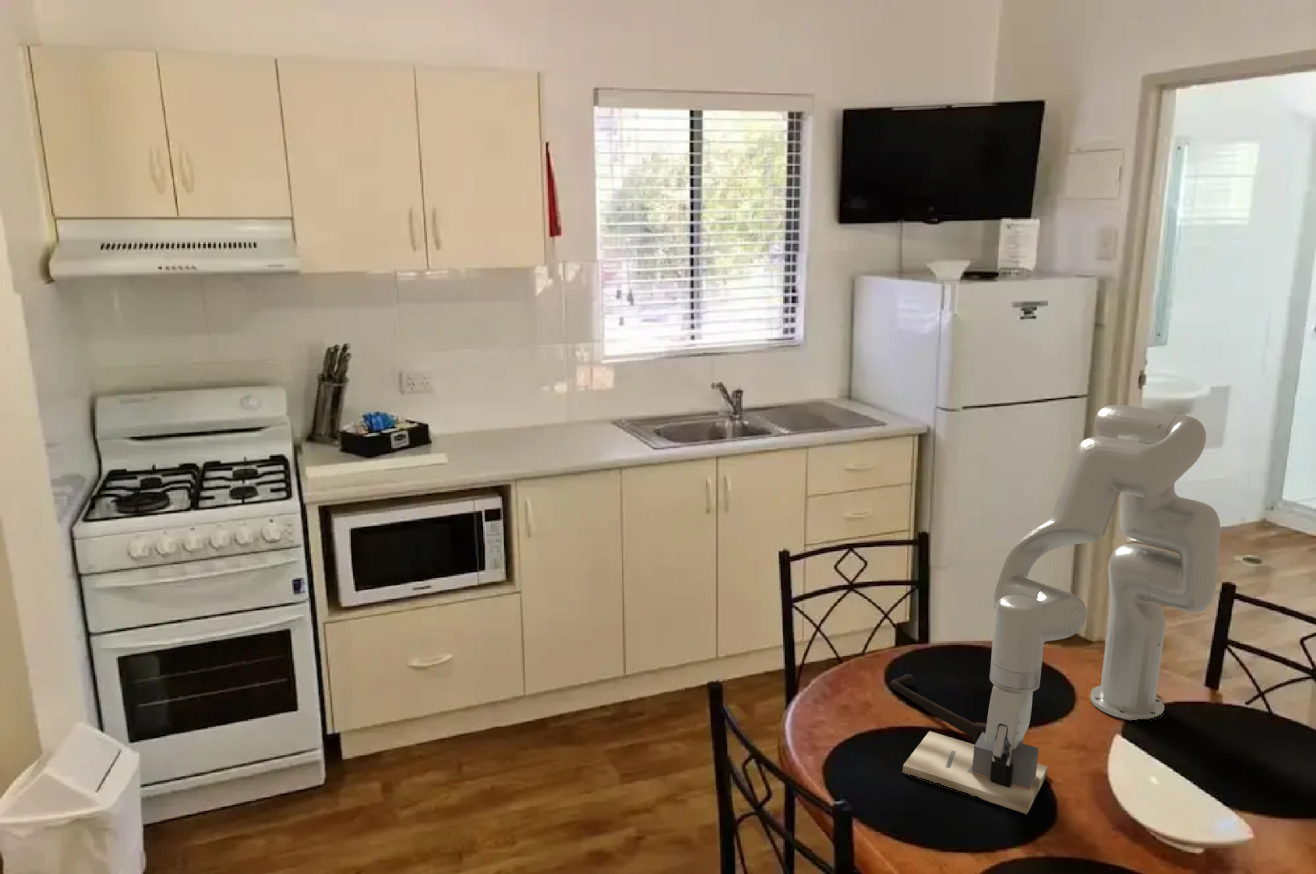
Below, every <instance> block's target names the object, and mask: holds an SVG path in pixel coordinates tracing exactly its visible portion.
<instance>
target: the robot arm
mask: <svg viewBox="0 0 1316 874" xmlns="http://www.w3.org/2000/svg"><path fill="white" fill-rule="evenodd" d="M1205 429H1206V428H1205V426H1204V425H1203V423H1202V422H1201V421H1200V420H1198V419H1197V418H1195V417H1193V416H1189V415H1186V414H1180V413H1173V412H1167V411H1161V410H1155V409H1150V408H1144V407H1138V406H1130V405H1125V404H1112V405H1111V404H1110V405H1106V406H1104V407H1102V408H1101V409H1099V411H1098V412H1097V414H1096V416H1095V418H1094V430H1095V435H1096V436H1092V437H1087V438H1085V439H1083V440H1082V441H1081V442H1080V443H1079V444H1078V445H1077V447H1076V450H1075V452H1074V454H1073V457H1072V459H1071V462H1070V464H1069V467H1068V470H1067V473H1066V476H1065V478H1064V481H1063V484H1062V486H1061V487H1060V488H1061V489H1060V491H1059V493H1058V496H1057V499H1056V500H1055V501H1056V502H1055V505H1054V508H1053V510H1052V513H1051V515H1050V517H1049V518H1048V519H1047V520H1046V521H1045V522H1043V523H1042V524H1040V525H1038V526H1036V527H1035V528H1034V529H1032V530H1031V531H1029V532H1027V533H1026V534H1025V535H1024V536H1023V537H1021V539H1019V540H1018V541H1017V542H1016V544H1014V545H1013V547H1012V548H1011V549H1010V550H1009V552H1008V554H1007V555H1006V556H1005V559H1004V562H1003V564H1002V567H1001V569H1000V572H999V574H998V577H997V581H996V582H995V586H994V590H993V596H992V604H993V605H992V606H993V608H994V610H995V611H994V623H993V631H992V632H993V634H992V646H991V655H990V656H991V659H990V668H989V669H990V670H989V681H990V682H991V683H992V684H993V686H992V690H991V694H990V700H989V703H988V704H989V705H988V713H987V718H986V719H987V720H986V723H987V726H986V733H985V741H986V742H987V743H992V741H993V740H994V738H995V736H996V738H995V744H994V750H993V756H992V764H991V775H990V781H991V782H993V783H996V784H999V785H1002V786H1005V787H1010V786H1011V783H1012V772H1013V764H1011V761H1012V755H1013V750H1014V749H1016V748H1017V746H1018V745H1019V743H1023V744H1024V737H1025V734H1026V732H1027V731H1028V729H1029V726H1030V721H1031V717H1032V706H1033V693H1034V692H1035V691H1037V690H1038V689H1039V688H1040V685H1041V684H1040V683H1041V675H1042V665H1043V656H1044V655H1043V654H1044V645H1045V643H1046V642H1049V641H1050V642H1051V641H1057V640H1058V641H1059V640H1065V639H1067V638H1070V637H1072V636H1074V635H1076V634H1077V633H1078V632H1080V631H1081V629H1082V628H1083V626H1084V625H1085V622H1086V620H1087V614H1088V613H1087V607H1086V604H1085V603H1084V601H1083V600H1082V599H1081V598H1080V597H1079V596H1077V595H1075V594H1074V593H1071V592H1069V591H1066V590H1063V589H1060V588H1057V587H1054V586H1051V585H1047V584H1045V583H1041V582H1039V581H1035V580H1032V579H1029V578H1028V576H1029V574H1030V571H1031V569H1032V567H1033V566H1034V565H1035V563H1036V562H1037V561H1038V560H1039V559H1040V558H1041V557H1043V556H1044V555H1045V554H1048V553H1049V552H1051V551H1054V550H1056V549H1059V548H1062V547H1066V546H1067V547H1068V546H1072V545H1081V544H1087V543H1094V542H1097V541H1100V540H1102V539H1103V538H1104V536H1105V534H1106V531H1107V528H1108V526H1109V523H1110V520H1111V518H1112V516H1113V511H1114V510H1115V507H1116V505H1117V502H1118V499H1119V525H1120V526H1119V527H1120V530H1121V533H1122V534H1123V535H1124V536H1125V537H1126V538H1128V539H1130V540H1132V541H1135V542H1138V543H1135V542H1134V543H1133V542H1132V543H1131V542H1130V543H1129V542H1128V543H1124V544H1121V545H1119V546H1117V547H1116V548H1115V549H1114V550H1113V551H1112V553H1111V554H1110V557H1109V560H1108V567H1107V573H1108V585H1109V609H1108V620H1107V628H1106V637H1105V645H1104V653H1103V654H1104V655H1103V662H1102V670H1101V671H1102V672H1101V681H1100V685H1097V686H1095V687H1093V688H1092V690H1091V691H1090V697H1089V698H1090V701H1091V703H1092V704H1093V706H1094V707H1096V708H1097V709H1098V710H1100V711H1102V712H1103V713H1105V714H1107V715H1110V716H1113V717H1115V718H1118V719H1121V720H1127V721H1132V720H1137V719H1150V718H1154V717H1157V716H1159V715H1161V714H1162V713H1163V711H1164V712H1165V705H1164V703H1163V701H1162V700H1161V699H1160V698H1159V697H1158V696H1157V694H1158V693H1157V692H1158V687H1159V686H1158V685H1159V679H1160V678H1159V677H1160V671H1161V665H1162V655H1163V647H1164V640H1165V635H1166V633H1165V632H1166V618H1165V614H1164V611H1163V609H1162V606H1161V605H1163V606H1165V607H1166V606H1167V607H1168V608H1169V607H1170V608H1173V609H1176V610H1180V611H1182V612H1187V613H1194V614H1195V613H1201V612H1204V611H1206V610H1207V608H1209V607H1210V605H1211V604H1212V601H1213V599H1214V596H1215V592H1216V587H1217V578H1218V569H1219V568H1218V567H1219V555H1220V554H1219V553H1220V542H1221V541H1220V540H1221V523H1220V518H1219V516H1218V513H1217V511H1216V510H1215V509H1214V507H1212V506H1211V505H1209V504H1208V503H1205V502H1202V501H1198V500H1194V499H1190V498H1185V497H1181V496H1179V495H1177V494H1176V491H1175V483H1176V482H1177V481H1178V480H1179V479H1180V478H1181V477H1182V476H1183V475H1184V474H1185V473H1187V472H1188V470H1190V468H1192V467H1193V465H1195V463H1197V461H1198V460H1199V458H1200V457H1201V455H1202V453H1203V451H1204V448H1205V446H1206V442H1207V433H1206V432H1207V431H1206V430H1205ZM1119 496H1120V497H1119ZM1006 741H1008V742H1009V743H1010V745H1008V744H1005V742H1006ZM1004 749H1008V755H1006V754H1005V753H1004Z"/></svg>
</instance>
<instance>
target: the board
mask: <svg viewBox="0 0 1316 874" xmlns="http://www.w3.org/2000/svg"><path fill="white" fill-rule="evenodd" d="M974 746H975V743H974V744H973V743H970V742H966V741H965V740H961V739H957V738H954V737H950V736H947V735H944V734H941V733H937V732H934V731H931V730H929V731H928V732H927V734H926V735H925V736H924V737H923V738H922V740H921V742H920V743H919V744H918V745H917V746H916V748H915V749H914V750H913V752H911V754H910V756H909V757H908V758H907V759H906V761H905V762H904V763H903V765H902V774H903V773H905V774H904V775H906V774H908V775H907V776H909V775H913V776H916V777H918V778H917V779H919V778H922V779H926V780H929V781H932V782H934V783H940V784H941V785H944V786H947V787H949V788H953V789H956V790H958V791H962V792H965V793H968V794H970V795H972V796H971V797H973V796H977V797H979V798H981V799H980V800H982V799H983V801H985V800H986V801H985V802H988V801H989V803H992V804H993V805H994V804H995V805H998V806H1001V807H1004V808H1007V809H1010V810H1014V811H1017V812H1018V813H1022V814H1025V815H1028V813H1029V811H1030V809H1031V807H1032V806H1033V804H1034V801H1035V799H1036V798H1037V796H1038V793H1039V791H1040V789H1041V788H1042V786H1043V784H1044V781H1045V779H1046V778H1047V776H1048V768H1049V767H1048V766H1047V765H1044V764H1040V763H1037V770H1036V777H1035V779H1034V781H1033V783H1032V786H1031V788H1030V790H1029V791H1028V790H1025V789H1022V788H1018V787H1015V786H1012V785H1011V786H1010V787H1005V786H1002V785H999V784H996V783H993V782H991V781H990V779H989V778H985V777H982V776H979V775H975V774H972V766H973V754H974ZM922 779H921V780H922ZM934 783H933V784H934ZM949 788H948V789H949ZM958 791H957V792H958ZM970 795H969V796H970ZM979 798H978V799H979Z"/></svg>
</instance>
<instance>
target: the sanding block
mask: <svg viewBox="0 0 1316 874" xmlns="http://www.w3.org/2000/svg"><path fill="white" fill-rule="evenodd" d="M995 738H996V736H995ZM995 738H994V740H993V741H992V743H987V742H986V741H985V733H983V732H982V733H981V735H980V737H979V739H978V740H977V742H976V744H975V743H974V745H975V746H974V754H973V766H972V774H975V775H979V776H982V777H985V778H989V779H990V775H991V764H992V756H993V750H994V744H995ZM1005 744H1008V745H1010V743H1009V742H1008V741H1006V742H1005ZM1039 750H1040V748H1039V747H1037V746H1034V745H1033V746H1032V745H1029V744H1026V743H1024V742H1023V743H1019V745H1018V746H1017V748H1016V749H1014V750H1013V755H1012V761H1011V764H1013V772H1012V783H1011V785H1012V786H1015V787H1018V788H1022V789H1025V790H1028V791H1029V790H1030V788H1031V786H1032V783H1033V781H1034V779H1035V777H1036V770H1037V764H1038V758H1039ZM1004 753H1005V754H1006V755H1008V749H1004Z"/></svg>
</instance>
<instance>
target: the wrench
mask: <svg viewBox="0 0 1316 874" xmlns="http://www.w3.org/2000/svg"><path fill="white" fill-rule="evenodd" d="M889 684H890V687H891V688H892V689H893V690H894V691H896V692H897V693H899V694H900V695H903V696H904V697H905V698H908V699H909V700H910V701H912V702H913V703H916V704H917V705H918V706H920V707H922V709H925V710H926V711H928V712H929V713H931V714H933V715H934V716H936V717H937V718H939V719H940V720H942V721H944V722H946V723H947V724H948V725H950V726H952V727H954V728H955V729H957V730H959V731H960V732H962V733H964V734H965V735H967V736H968V737H970V738H972V741H973V742H974V745H975V744H976V742H977V740H978V739H979V737H980V735H981V733H982V732H983V733H986V726H987V722H983V721H978V722H972V721H970V720H969V719H966V718H965V717H963V716H962V715H959V714H956V713H955V712H954V711H951V710H950V709H947V708H945V707H943V706H941V705H939V704H938V703H936V702H933V701H932V700H930V699H928V698H927V697H925V696H922V695H920V694H919V693H917V692H915V691H913V690H911V689H909V688H907V687H912V686H913V685H914V684H915V677H914V676H913V675H912V674H910V673H908V674H907V673H905V674H904V675H902V676H900V677H897V678H894V679H892V680H891V681H890V683H889ZM973 742H972V743H973Z"/></svg>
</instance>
